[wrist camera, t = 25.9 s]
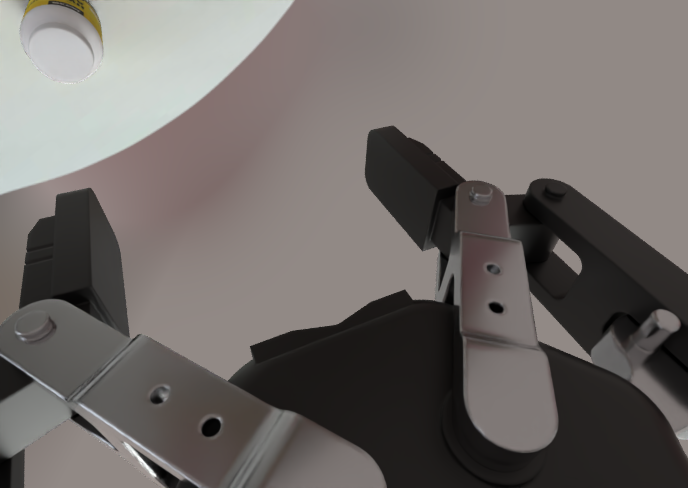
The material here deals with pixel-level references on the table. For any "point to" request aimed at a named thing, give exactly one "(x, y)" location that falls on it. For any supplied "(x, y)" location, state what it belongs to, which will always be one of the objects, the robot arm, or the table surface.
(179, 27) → the table surface
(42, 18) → the supplement bottle
